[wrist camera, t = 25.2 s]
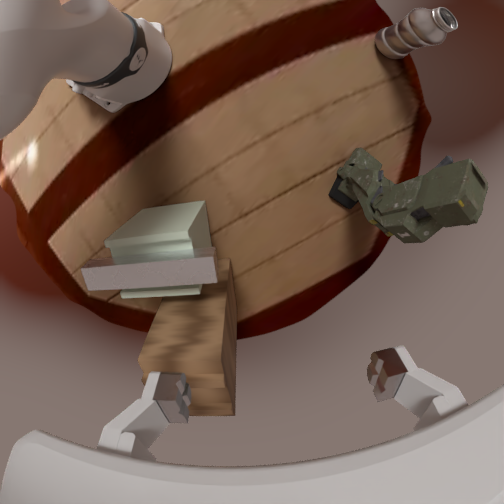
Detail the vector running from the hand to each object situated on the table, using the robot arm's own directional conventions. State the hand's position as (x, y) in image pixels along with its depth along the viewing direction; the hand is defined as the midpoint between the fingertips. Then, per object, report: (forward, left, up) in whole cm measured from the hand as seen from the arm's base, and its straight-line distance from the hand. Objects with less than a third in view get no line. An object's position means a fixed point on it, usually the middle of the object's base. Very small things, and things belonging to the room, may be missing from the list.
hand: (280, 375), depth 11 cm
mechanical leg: (+15, +12, -39) cm, 44 cm away
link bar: (-10, -13, -24) cm, 29 cm away
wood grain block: (+1, -21, -39) cm, 44 cm away
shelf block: (-9, -12, -39) cm, 42 cm away
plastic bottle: (+8, +39, -39) cm, 56 cm away
